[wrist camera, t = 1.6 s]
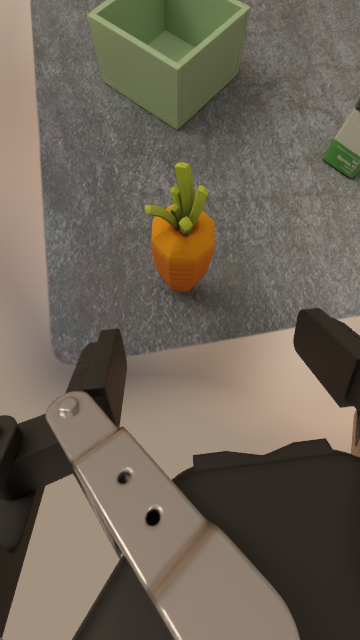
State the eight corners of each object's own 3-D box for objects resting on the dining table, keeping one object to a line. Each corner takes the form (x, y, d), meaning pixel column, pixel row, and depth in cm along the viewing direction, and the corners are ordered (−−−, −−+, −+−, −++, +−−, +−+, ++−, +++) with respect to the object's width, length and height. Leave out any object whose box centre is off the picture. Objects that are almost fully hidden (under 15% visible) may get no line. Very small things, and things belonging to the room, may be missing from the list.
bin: (177, 130, 34) (177, 69, 28) (102, 81, 37) (86, 14, 30) (237, 74, 37) (251, 7, 31) (165, 31, 39) (163, -40, 33)
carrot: (191, 316, 28) (209, 237, 13) (150, 297, 28) (123, 201, 14) (210, 277, 29) (244, 166, 15) (170, 260, 30) (164, 136, 15)
